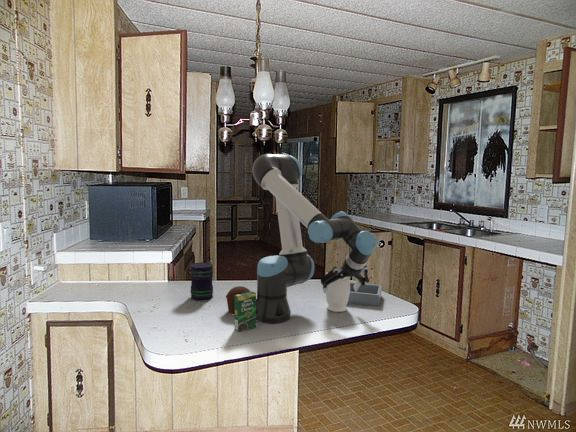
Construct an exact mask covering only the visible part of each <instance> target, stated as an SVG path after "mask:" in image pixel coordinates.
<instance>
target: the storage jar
mask: <svg viewBox="0 0 576 432" xmlns="http://www.w3.org/2000/svg"><path fill="white" fill-rule="evenodd" d="M213 277H214V265H213V263H211V262H203V261H202V262H194V263H191V264H190V279H191V283H190V284H191V286H190V299H191V300H192V301H196V302H205V301H210V300H212V299H213V298H214V296H213V294H214V285H213Z"/></svg>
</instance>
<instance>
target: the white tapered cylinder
mask: <svg viewBox="0 0 576 432" xmlns="http://www.w3.org/2000/svg"><path fill="white" fill-rule="evenodd" d="M327 273H328V272H326V273H325V275H326V274H327ZM341 275H342V274H341ZM342 276H343V275H342ZM350 279H351V277H345V278H343V279H338V280H336V281H334V282H332V283H330V286H329V288H328V290H327V292H326V293H325V300H326V303H327V307H326V309H327V310H328V311H330V312H334V313H343V312H345V311H347V310H348V307H347V305H348V304H349V303H348V299H349V294H350V281H351V280H350Z"/></svg>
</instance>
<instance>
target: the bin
mask: <svg viewBox="0 0 576 432" xmlns="http://www.w3.org/2000/svg"><path fill="white" fill-rule="evenodd" d="M354 284H355V282H350V294H349V299H348V303H347V304H353V305H354V304H355V305H361V306H371V307H379V306H380V302H381V298H382V285H380V284H370V283H365V285H362V286H360V287H359V289H358V290H357V292H355V290H354V287H353V286H354Z"/></svg>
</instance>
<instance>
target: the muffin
mask: <svg viewBox="0 0 576 432" xmlns="http://www.w3.org/2000/svg"><path fill="white" fill-rule="evenodd" d="M248 292H252V291H251V290H250V289H249V288H247V287H245V286H235V287H232V288H230V290H228V292H227V294H226V295H225V298H226V303H227V308H228V310H227V311H228V313H229V314H231V315H233V316H234V295H238V294H243V293H248Z"/></svg>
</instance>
